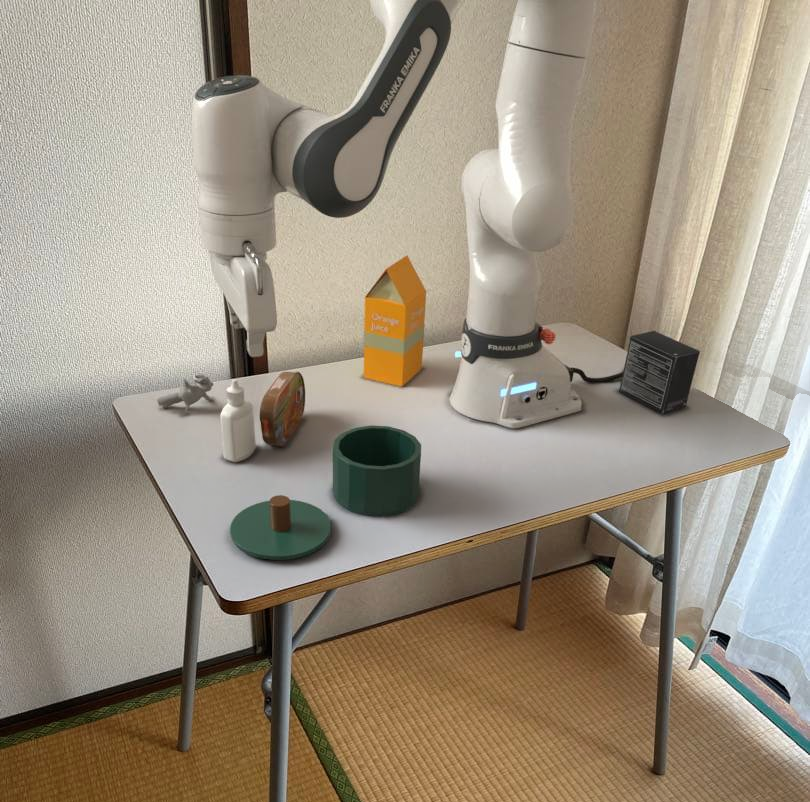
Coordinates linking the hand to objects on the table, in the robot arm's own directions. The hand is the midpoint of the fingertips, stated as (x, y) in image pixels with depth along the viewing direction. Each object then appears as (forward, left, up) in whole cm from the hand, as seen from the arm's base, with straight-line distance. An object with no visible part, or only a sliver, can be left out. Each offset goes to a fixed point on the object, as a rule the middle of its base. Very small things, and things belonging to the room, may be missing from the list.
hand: (246, 340), depth 112 cm
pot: (-15, +8, -21) cm, 27 cm away
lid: (0, +14, -21) cm, 25 cm away
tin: (-7, -13, -21) cm, 26 cm away
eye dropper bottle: (+1, -8, -21) cm, 23 cm away
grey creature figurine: (+6, -24, -21) cm, 33 cm away
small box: (-72, -7, -21) cm, 75 cm away
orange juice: (-31, -29, -21) cm, 48 cm away
